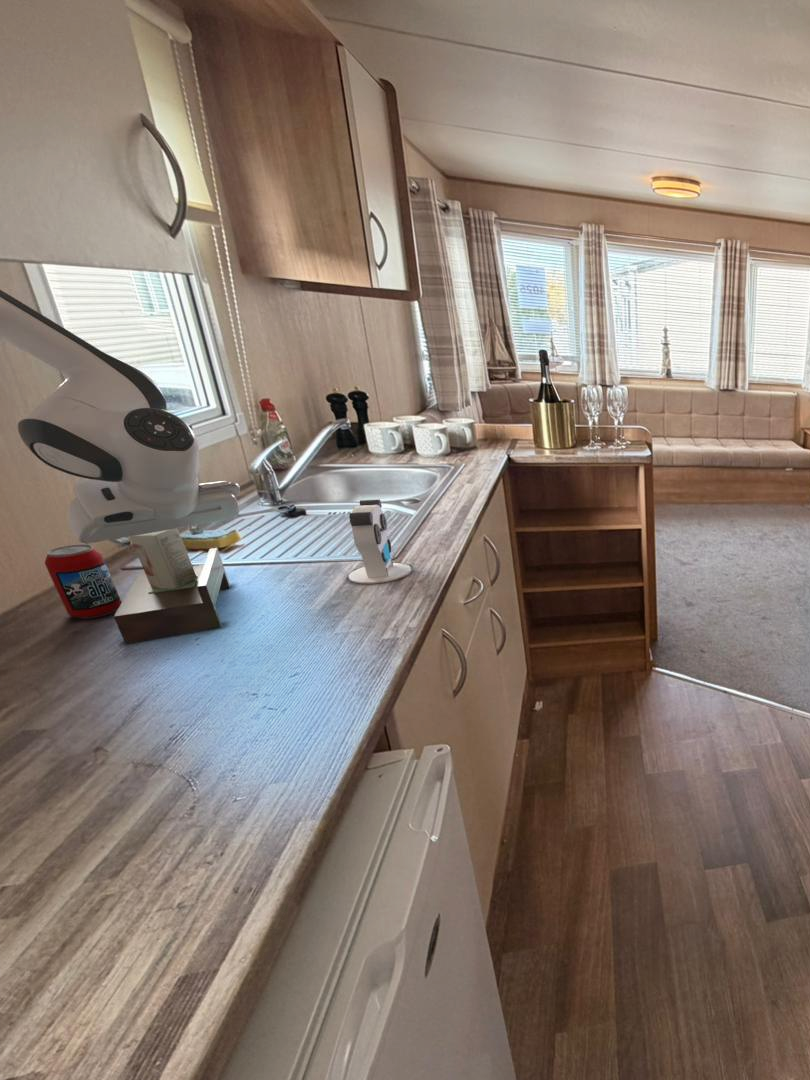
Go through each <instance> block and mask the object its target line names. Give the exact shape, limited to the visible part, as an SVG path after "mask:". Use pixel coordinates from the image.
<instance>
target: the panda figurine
mask: <svg viewBox="0 0 810 1080" xmlns="http://www.w3.org/2000/svg"><path fill="white" fill-rule="evenodd" d="M382 507H383V506H382V501H381V499H363V500H359V505H356V506H355V507H354V508H353V509H352V512H349V523H350V525H351V530H352V531H351V532H352V538H353V541H354V545H355V548H356V549H357V551H358V553H359V554H360V555H361V558H362V562H363V566H362V567H360V568H357V569H355V570H353V571H352V572H350V573H349V574H348V580H349V581H350V582H352V583H356V584H361V585H372V584H373V585H374V584H382V583H388V582H393V581H396V580H400V579H402V578H404V577H406V576H408V575H409V574H411V572H412V567H411V566H410V565H408V564H405V563H401V562H393V558H392V555H391V552H392V542H391V540H390V539H389V538H388V522H387V518H386V516H385V514H384V513H383V510H382Z"/></svg>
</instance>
